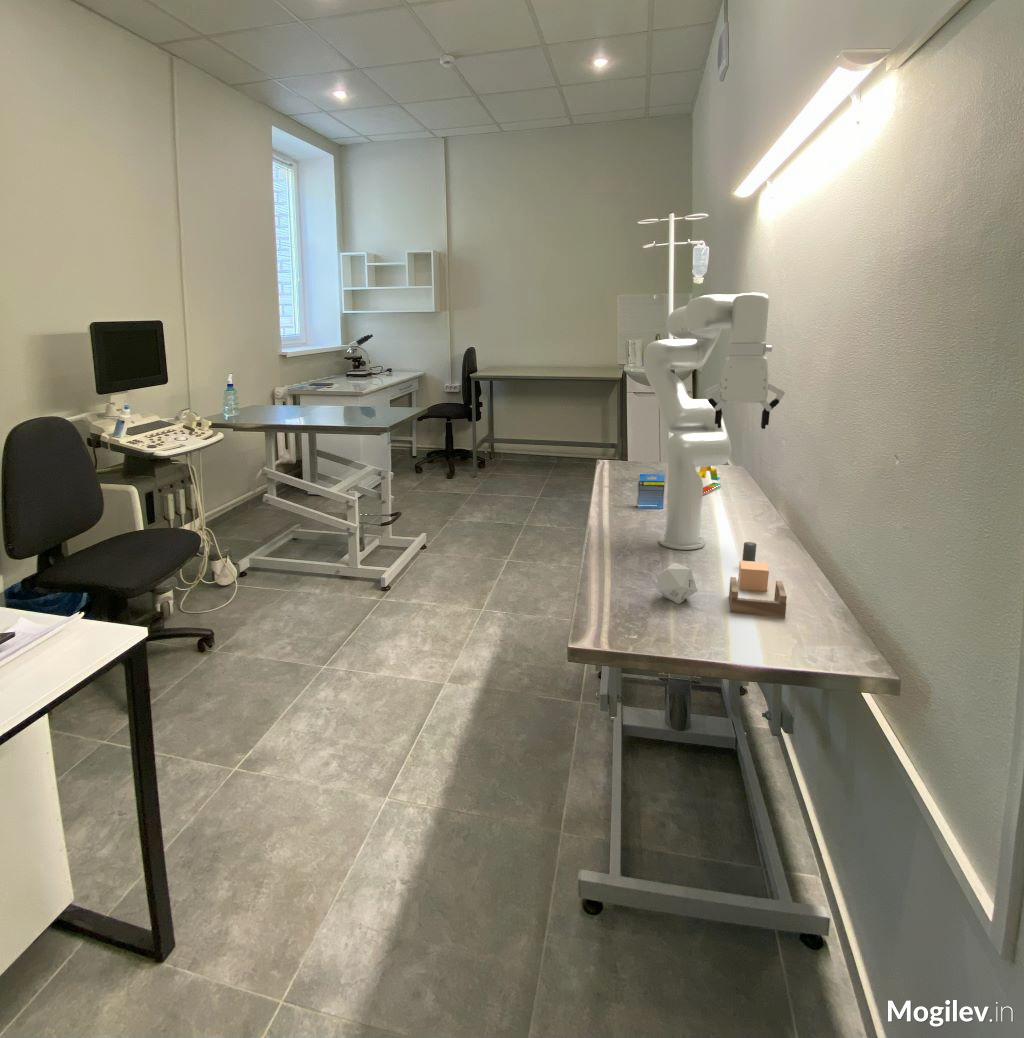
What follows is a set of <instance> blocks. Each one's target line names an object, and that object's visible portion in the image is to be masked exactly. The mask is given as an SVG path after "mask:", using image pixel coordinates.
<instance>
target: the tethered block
mask: <svg viewBox="0 0 1024 1038" xmlns="http://www.w3.org/2000/svg"><path fill="white" fill-rule="evenodd" d="M742 549H743V551H742V560H739V566H738V579H737V583H738V590H748V591H761V592H768V585H769V584H768V583H769V574H770V570H769V566H768V562H766V561H756V553H757V543H755V542H753V541H746V542H743V548H742Z"/></svg>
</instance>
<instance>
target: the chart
mask: <svg viewBox="0 0 1024 1038" xmlns="http://www.w3.org/2000/svg"><path fill="white" fill-rule="evenodd" d="M717 471H718V470H717V468H715V467H712V466H703V467H699V472H698V471H697V473H698V474H699V476H700V477H701V479H706V477H707V472H709V474H710V479H711V481H712V480H713V481H719V480H721V477H720V476H718V472H717ZM720 484H721V485H720ZM718 485H720V486H718ZM716 486H718V487H716ZM714 487H716V488H714ZM721 487H722V483H720V482H719V483H718V482H712V483H710V484H707V485H706V486H703V494H702V497H704V496H707V495H709V494H710V493H712V492H715V491H717V490H719V489H721ZM712 488H714V489H712ZM710 489H711V490H710ZM708 490H709V491H708ZM706 491H707V492H706ZM704 492H705V493H704Z"/></svg>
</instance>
